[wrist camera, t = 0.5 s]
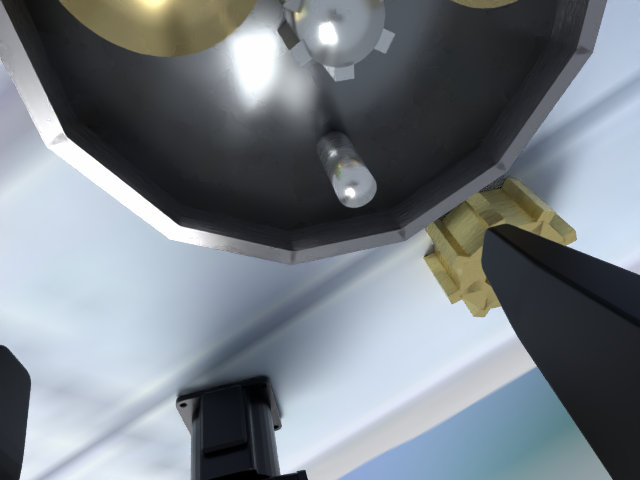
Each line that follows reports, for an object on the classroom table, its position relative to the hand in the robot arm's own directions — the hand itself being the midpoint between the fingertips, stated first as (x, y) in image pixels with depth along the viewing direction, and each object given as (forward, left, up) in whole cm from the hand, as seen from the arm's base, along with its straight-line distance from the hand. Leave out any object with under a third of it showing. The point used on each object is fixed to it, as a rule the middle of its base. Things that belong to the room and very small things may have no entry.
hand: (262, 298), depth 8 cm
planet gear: (-12, -13, -14) cm, 22 cm away
